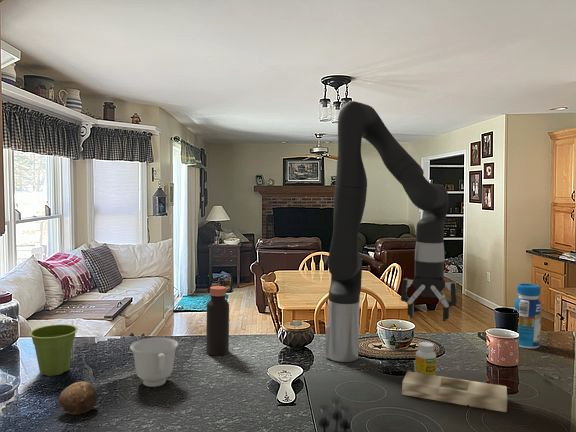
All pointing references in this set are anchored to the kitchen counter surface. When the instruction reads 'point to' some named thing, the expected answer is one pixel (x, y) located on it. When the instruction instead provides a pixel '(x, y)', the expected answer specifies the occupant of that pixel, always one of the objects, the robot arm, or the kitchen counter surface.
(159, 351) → the teacup
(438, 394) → the wooden plank
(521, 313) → the beverage bottle
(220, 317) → the vinegar
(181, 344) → the kitchen counter surface
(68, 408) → the brown potato
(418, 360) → the supplement bottle
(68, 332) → the plant pot
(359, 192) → the robot arm
